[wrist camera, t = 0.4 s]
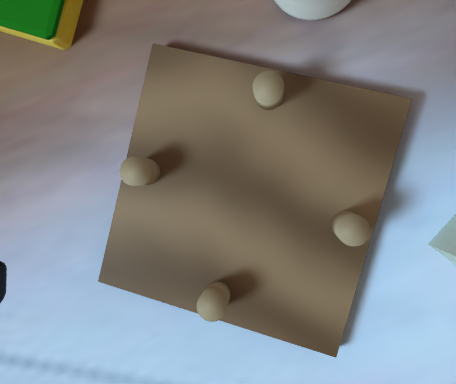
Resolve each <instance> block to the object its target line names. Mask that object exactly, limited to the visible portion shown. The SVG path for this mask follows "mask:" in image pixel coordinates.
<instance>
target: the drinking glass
mask: <svg viewBox="0 0 456 384" xmlns="http://www.w3.org/2000/svg"><path fill="white" fill-rule="evenodd" d="M275 2H276V3H277V5H278V6H279V7H280V8H281V9H282V10H283V11H284V12H286V13H287V14H289V15H291V16H293V17H295V18H298V19H302V20H320V19H324V18H327V17H330V16H332V15H334V14H336V13H338V12H339V11H341V10H342V9H343V8H344V7H346V6H347V5H348V4H349V3H350V2H351V0H275Z"/></svg>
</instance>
